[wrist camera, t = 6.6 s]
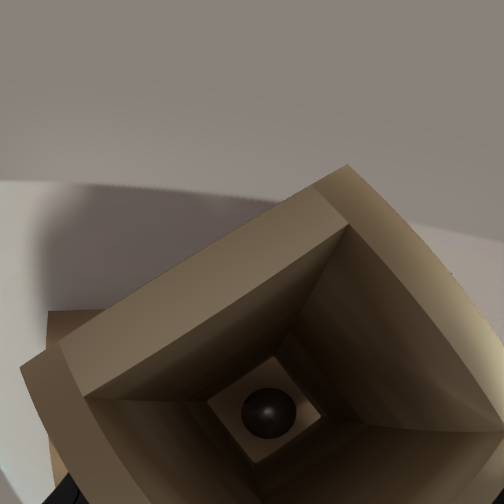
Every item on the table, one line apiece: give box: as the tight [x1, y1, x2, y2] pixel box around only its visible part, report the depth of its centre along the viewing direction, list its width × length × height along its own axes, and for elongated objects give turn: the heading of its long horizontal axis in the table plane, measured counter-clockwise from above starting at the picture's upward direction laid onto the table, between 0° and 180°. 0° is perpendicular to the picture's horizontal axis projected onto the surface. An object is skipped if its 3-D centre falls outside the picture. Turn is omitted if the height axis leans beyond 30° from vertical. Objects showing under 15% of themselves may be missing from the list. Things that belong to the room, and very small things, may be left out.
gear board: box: [46, 273, 452, 487], centre depth 14 cm, size 11×25×1 cm, turn 96°
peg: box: [241, 388, 296, 439], centre depth 11 cm, size 2×2×5 cm
